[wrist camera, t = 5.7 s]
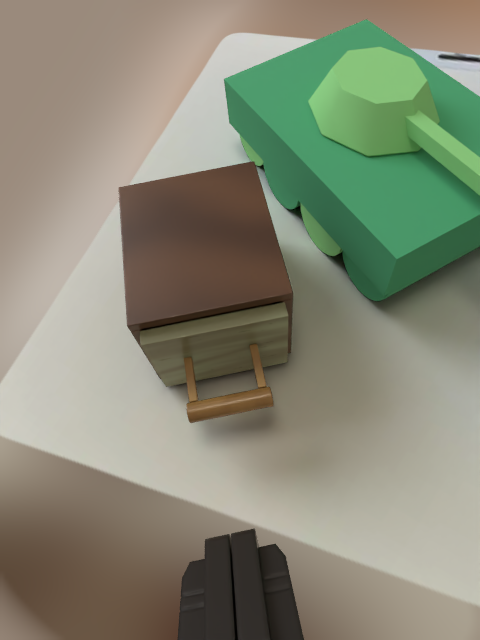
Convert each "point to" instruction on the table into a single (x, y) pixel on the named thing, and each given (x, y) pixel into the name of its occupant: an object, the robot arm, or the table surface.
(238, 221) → the cabinet
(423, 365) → the table surface
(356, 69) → the toy tank
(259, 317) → the drawer
